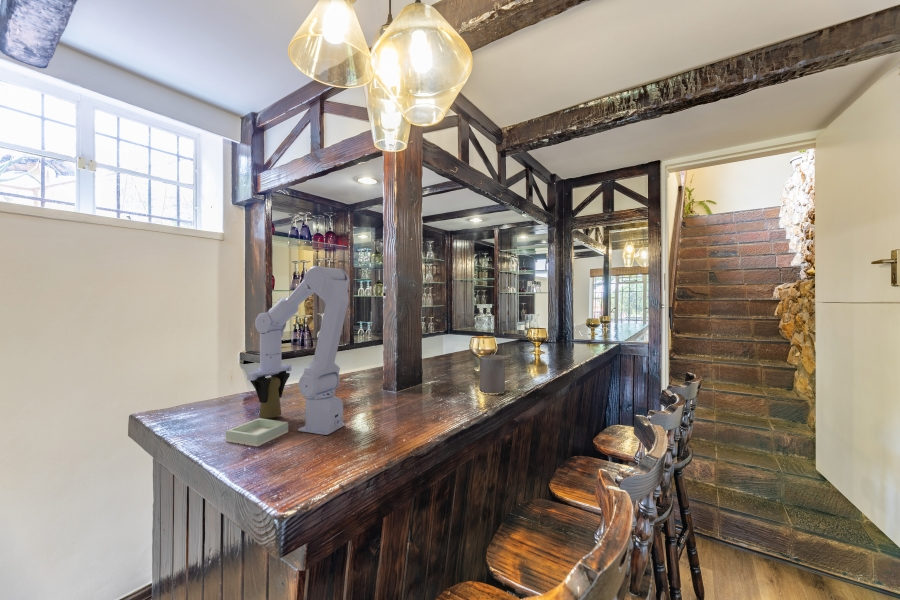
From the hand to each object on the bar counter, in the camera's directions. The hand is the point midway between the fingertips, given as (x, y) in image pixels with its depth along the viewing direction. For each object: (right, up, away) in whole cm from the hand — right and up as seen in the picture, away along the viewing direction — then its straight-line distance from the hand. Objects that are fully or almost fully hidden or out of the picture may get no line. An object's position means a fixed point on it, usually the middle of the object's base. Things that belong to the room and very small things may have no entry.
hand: (270, 399), depth 105 cm
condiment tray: (+4, -6, -14) cm, 15 cm away
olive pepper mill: (0, -5, 0) cm, 5 cm away
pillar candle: (+69, -6, +31) cm, 76 cm away
